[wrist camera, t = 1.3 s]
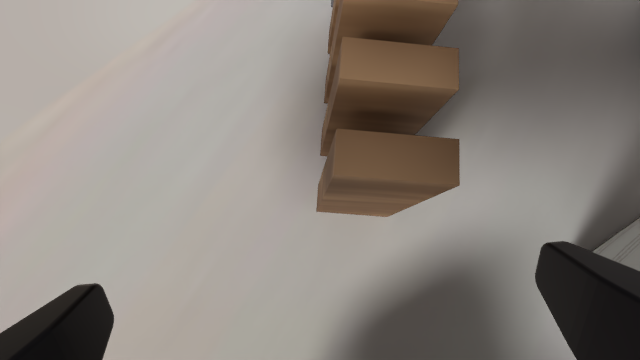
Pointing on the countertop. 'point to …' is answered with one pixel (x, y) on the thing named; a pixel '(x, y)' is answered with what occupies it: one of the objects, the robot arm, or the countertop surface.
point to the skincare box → (623, 246)
